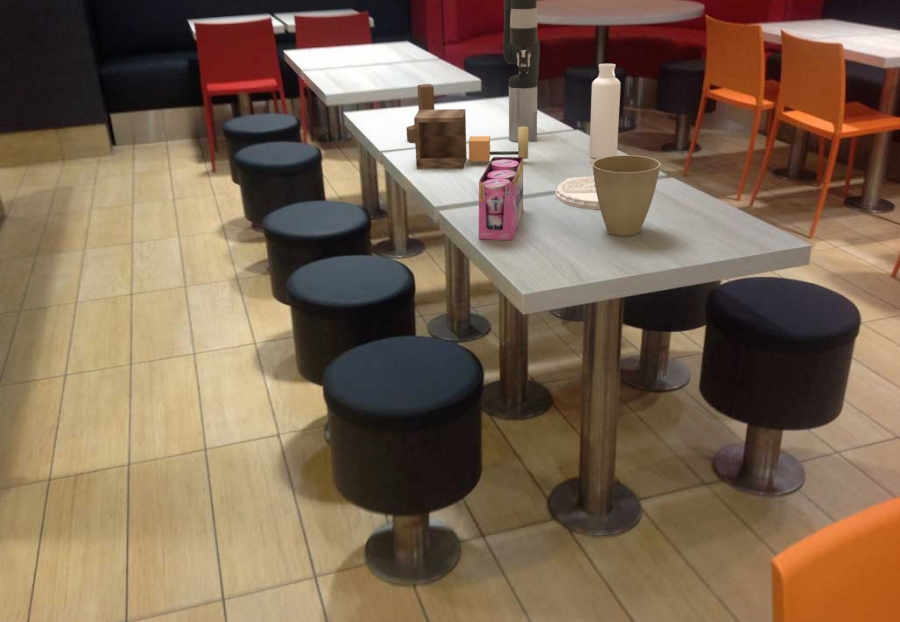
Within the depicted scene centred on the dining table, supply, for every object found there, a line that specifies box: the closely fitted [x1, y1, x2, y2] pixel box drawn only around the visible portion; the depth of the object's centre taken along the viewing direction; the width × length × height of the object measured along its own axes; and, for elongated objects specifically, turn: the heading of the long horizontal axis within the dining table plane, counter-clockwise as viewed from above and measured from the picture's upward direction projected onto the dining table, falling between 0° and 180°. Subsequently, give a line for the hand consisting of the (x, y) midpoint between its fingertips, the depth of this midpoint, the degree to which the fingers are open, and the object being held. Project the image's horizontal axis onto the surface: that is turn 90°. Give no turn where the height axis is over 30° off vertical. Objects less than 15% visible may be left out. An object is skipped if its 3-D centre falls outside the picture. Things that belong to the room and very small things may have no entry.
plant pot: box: [591, 154, 661, 237], centre depth 189 cm, size 15×15×16 cm
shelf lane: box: [413, 108, 467, 170], centre depth 249 cm, size 14×12×15 cm
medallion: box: [555, 175, 601, 211], centre depth 219 cm, size 24×27×2 cm
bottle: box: [588, 63, 622, 165], centre depth 242 cm, size 8×8×28 cm
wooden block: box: [405, 83, 435, 144], centre depth 277 cm, size 9×4×18 cm, turn 106°
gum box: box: [478, 156, 524, 241], centre depth 197 cm, size 24×8×14 cm, turn 169°
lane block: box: [468, 127, 529, 162], centre depth 248 cm, size 18×6×9 cm, turn 85°
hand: (523, 84), depth 240 cm, fingers open, 8 cm apart
